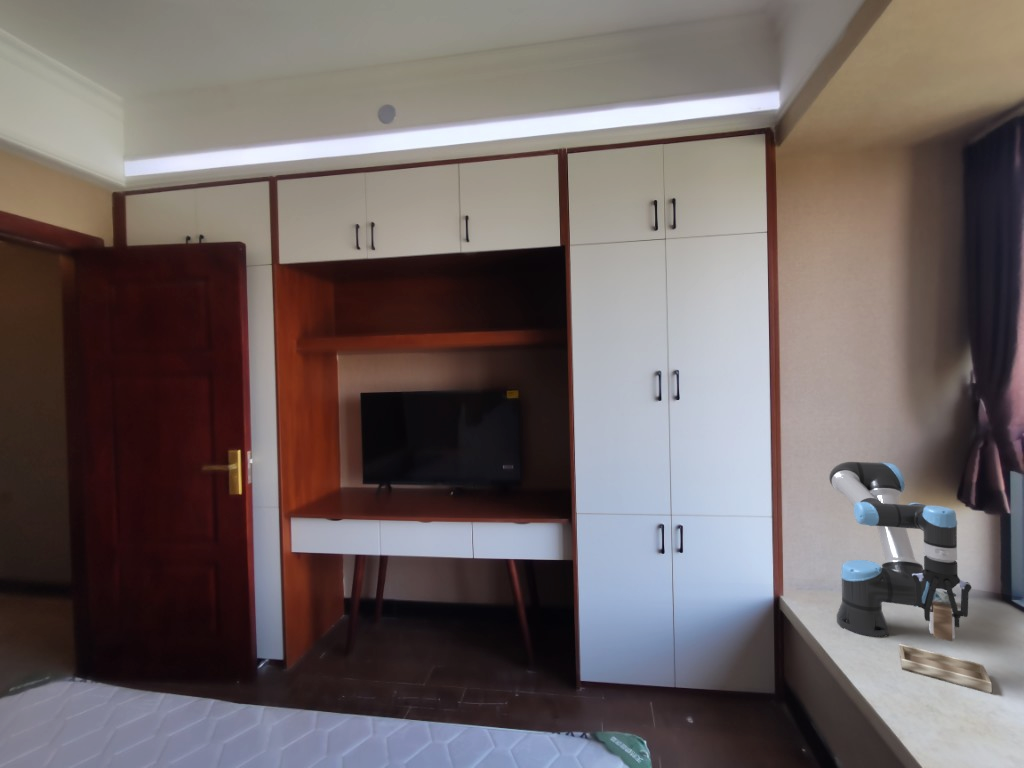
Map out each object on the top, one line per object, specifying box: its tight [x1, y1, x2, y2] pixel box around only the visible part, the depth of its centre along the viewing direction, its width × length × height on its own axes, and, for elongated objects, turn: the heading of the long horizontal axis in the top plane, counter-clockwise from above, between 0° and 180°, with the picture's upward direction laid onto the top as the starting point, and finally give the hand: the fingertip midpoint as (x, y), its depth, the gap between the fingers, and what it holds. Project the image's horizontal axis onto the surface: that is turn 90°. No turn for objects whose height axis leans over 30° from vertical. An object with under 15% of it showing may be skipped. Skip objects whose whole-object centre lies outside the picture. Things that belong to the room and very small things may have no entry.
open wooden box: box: [898, 643, 993, 694], centre depth 141 cm, size 20×11×3 cm, turn 53°
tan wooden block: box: [931, 601, 953, 642], centre depth 141 cm, size 4×6×9 cm, turn 143°
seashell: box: [935, 590, 957, 605], centre depth 182 cm, size 6×8×12 cm
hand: (941, 633), depth 141 cm, fingers closed on tan wooden block, 4 cm apart
